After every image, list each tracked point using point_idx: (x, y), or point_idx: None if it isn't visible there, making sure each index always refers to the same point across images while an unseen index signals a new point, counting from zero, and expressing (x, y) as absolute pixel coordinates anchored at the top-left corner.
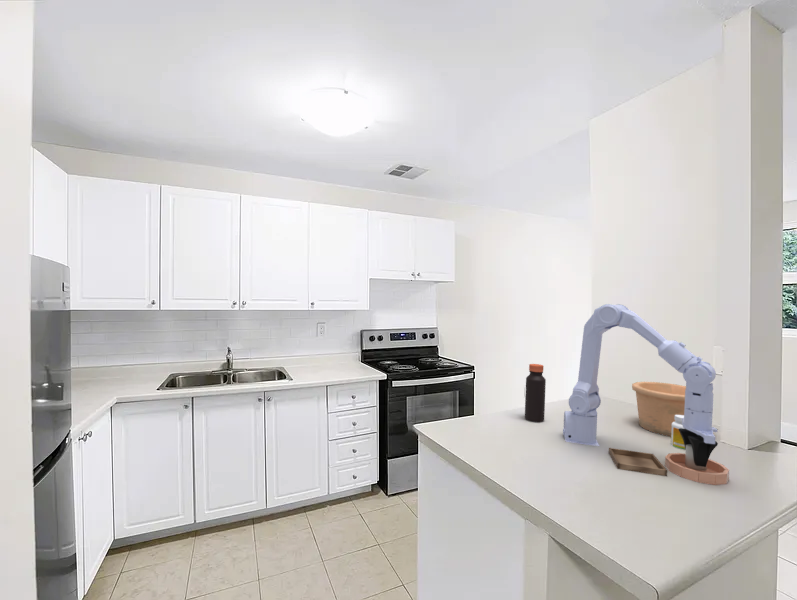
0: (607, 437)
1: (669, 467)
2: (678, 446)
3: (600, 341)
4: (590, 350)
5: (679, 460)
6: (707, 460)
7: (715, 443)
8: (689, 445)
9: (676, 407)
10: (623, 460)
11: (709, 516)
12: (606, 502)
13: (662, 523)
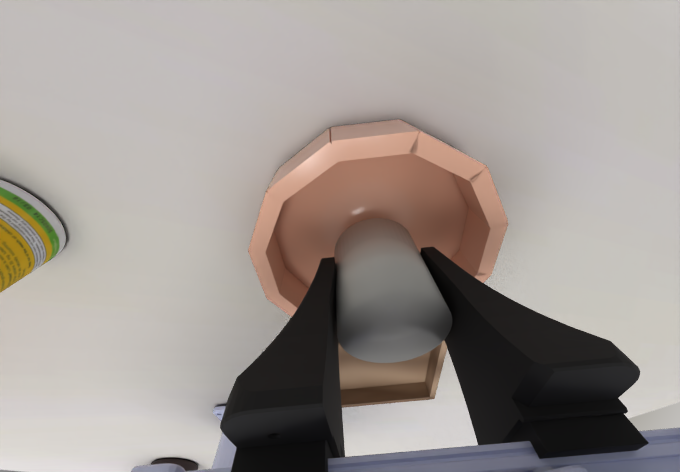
0: (166, 389)
1: None
2: (51, 247)
3: None
4: None
5: (289, 277)
6: (457, 266)
7: (635, 374)
8: (369, 351)
9: None
10: (365, 376)
11: (673, 262)
12: None
13: (672, 337)
